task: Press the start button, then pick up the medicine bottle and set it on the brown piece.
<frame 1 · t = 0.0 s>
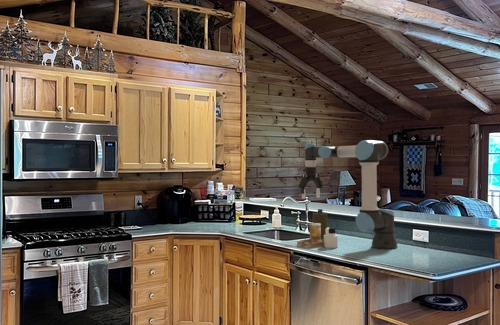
hand: (311, 198, 327), 28 cm above the counter, tool pointing down, fingers open, 13 cm apart
brown piece: (314, 245, 303), on the counter
start button: (327, 238, 308), point 4 cm above the counter, slide at 0.0 cm
medicine bottle: (330, 247, 298), on the counter
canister: (320, 238, 334), on the counter
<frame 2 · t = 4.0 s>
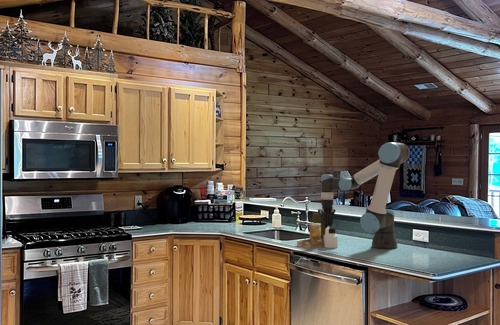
hand: (327, 236, 308), 5 cm above the counter, tool pointing down, fingers closed
start button: (327, 239, 308), point 3 cm above the counter, slide at -1.0 cm, touching gripper
everything else where it was.
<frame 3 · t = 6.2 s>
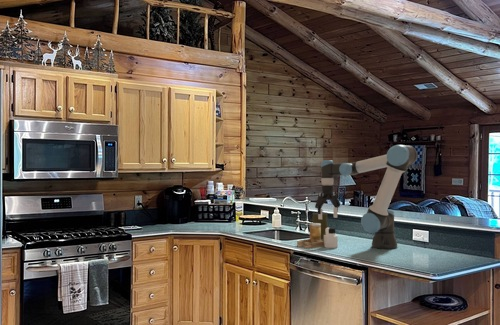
hand: (328, 218, 307), 17 cm above the counter, tool pointing down, fingers open, 13 cm apart
start button: (327, 240, 308), point 3 cm above the counter, slide at -1.2 cm
everything else where it was.
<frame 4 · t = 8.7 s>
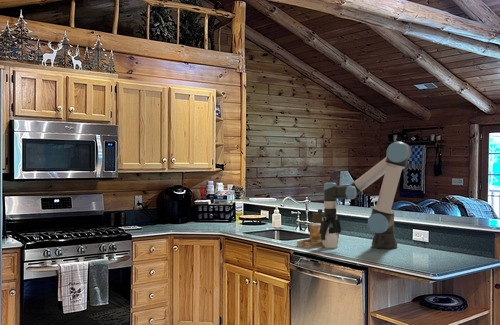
hand: (330, 244, 298), 2 cm above the counter, tool pointing down, fingers closed on medicine bottle, 10 cm apart
medicine bottle: (330, 247, 298), on the counter, touching gripper
everything else where it was.
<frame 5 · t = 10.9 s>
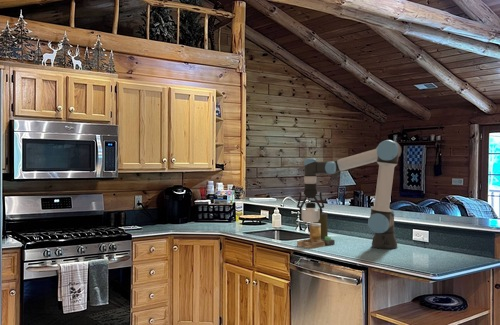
hand: (310, 219, 303), 17 cm above the counter, tool pointing down, fingers closed on medicine bottle, 10 cm apart
medicine bottle: (310, 222, 303), point 15 cm above the counter, touching gripper
everything else where it was.
when the fingers open (5 cm above the counter, at t = 13.6 s): medicine bottle drops 2 cm, resting on brown piece.
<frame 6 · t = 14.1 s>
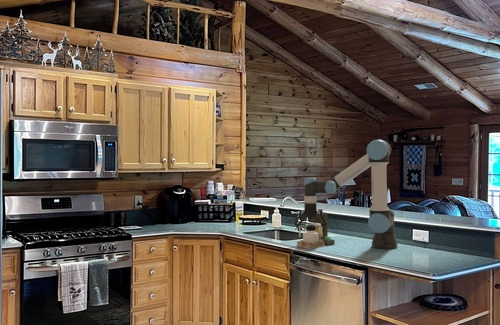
hand: (310, 236, 303), 6 cm above the counter, tool pointing down, fingers open, 13 cm apart
medicine bottle: (310, 244, 303), point 1 cm above the counter, touching brown piece
everything else where it was.
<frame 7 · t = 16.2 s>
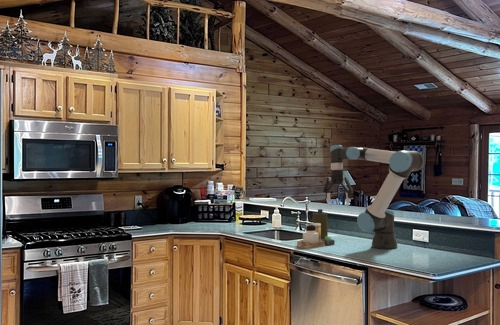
hand: (338, 203, 307), 26 cm above the counter, tool pointing down, fingers open, 13 cm apart
nothing on the counter moved.
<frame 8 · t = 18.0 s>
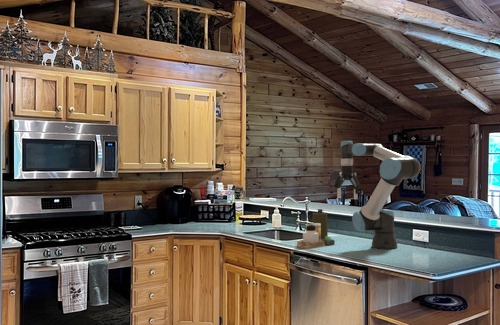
hand: (347, 198, 309), 29 cm above the counter, tool pointing down, fingers open, 13 cm apart
nothing on the counter moved.
at the end: medicine bottle inside the target area on the brown piece (0.0 cm from its centre), point 0.8 cm above the brown piece's base; medicine bottle tilted 0°; start button slide at -1.2 cm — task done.
